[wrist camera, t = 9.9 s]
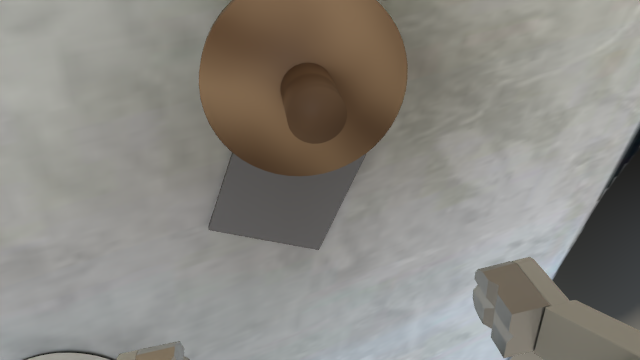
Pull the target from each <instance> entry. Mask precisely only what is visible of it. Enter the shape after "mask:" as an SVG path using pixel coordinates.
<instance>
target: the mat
mask: <svg viewBox="0 0 640 360" xmlns="http://www.w3.org/2000/svg"><path fill="white" fill-rule="evenodd" d="M365 155H366V154H364V155H363V156H361V157H360V158H359V159H357V160H355V161H354V162H352V163H350V164H348V165H346V166H344V167H341V168H339V169H337V170H334V171H330V172H327V173H324V174H318V175H312V176H286V175H279V174H274V173H271V172H267V171H264V170H262V169H259V168H257V167H254V166H252V165H250V164H249V163H247V162H245V161H243V160H242V159H240V158H239V157H238V156H236V155H235V154H234V153H232V155H231V158H230V162H229V165H228V168H227V171H226V174H225V177H224V180H223V183H222V186H221V189H220V193H219V196H218V199H217V202H216V205H215V208H214V211H213V214H212V217H211V221H210V224H209V230H212V231H217V232H223V233H228V234H234V235H239V236H245V237H250V238H256V239H261V240H267V241H272V242H278V243H283V244H289V245H294V246H300V247H305V248H311V249H316V250H319V248H320V246H321V244H322V242H323V240H324V238H325V236H326V234H327V232H328V230H329V228H330V226H331V224H332V222H333V220H334V218H335V216H336V214H337V212H338V210H339V208H340V206H341V204H342V202H343V200H344V198H345V196H346V194H347V192H348V190H349V188H350V186H351V183H352V181H353V179H354V177H355V175H356V173H357V171H358V169H359V167H360V165H361V163H362V161H363V159H364V157H365Z"/></svg>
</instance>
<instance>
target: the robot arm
mask: <svg viewBox="0 0 640 360" xmlns="http://www.w3.org/2000/svg"><path fill="white" fill-rule="evenodd" d="M475 281H476V282H477V284H478V285H477V286H476V288H475V289H474V290H473V302H474V306H475V309H476V312H477V314H478V316H479V318H480V320H481V321H482V323H483V324H485V325H486V326H488V327H490V328H492V333H491V338H492V340H493V341H494V343H495V345H496V346H497V348H498V349H499V351H500V353H501V354H502V356H503V358H507V357H511V356H515V355H520V354H524V353H529V352H533V351H534V353H535V354H536V355H538V356H539V357H541V358H542V359H543V360H640V331H639V330H637V329H635V328H633V327H631V326H629V325H626V324H624V323H622V322H620V321H618V320H616V319H614V318H611V317H610V316H608V315H605V314H603V313H601V312H599V311H597V310H595V309H593V308H590V307H589V306H587V305H584V304H582V303H580V302H578V301H576V300H574V301H569V300H568V298H567V297H566V296H565V295H564V294H563V293H562V291H561V290H560V289H559V288H558V287H557V286H556V284H555V283H554V282H553V281H552V280H551V279H550V277H549V276H548V275H547V274H546V273H545V272H544V270H543V269H542V268H541V267H540V266H539V265H538V264H537V262H536V261H535V260H534V259H532V258H531V257H527V258H523V259H519V260H515V261H509V262H505V263H501V264H497V265H493V266H489V267H485V268H481V269H478V270H477V271H476V272H475ZM27 360H109V359H106V358H103V357H99V356H95V355H89V354H82V353H54V354H46V355H41V356H37V357H33V358H30V359H27ZM116 360H190V359H189V358H187V357H184V347H183V346H182V344H181V342H180V341H178V342H173V343H168V344H163V345H159V346H154V347H149V348H144V349H140V350H135V351H131V352H127V353H122V354H119V356H118V357H117V359H116Z"/></svg>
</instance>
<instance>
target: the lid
mask: <svg viewBox="0 0 640 360" xmlns="http://www.w3.org/2000/svg"><path fill="white" fill-rule="evenodd" d="M406 84H407V58H406V52H405V48H404V44H403V40H402V38H401V35H400V33H399V31H398V28H397V27H396V25H395V23H394V22H393V20H392V18H391V17H390V15H389V14H388V13H387V12H386V10H385V9H384V8H383V7H382V5H380V4H379V3H378V2H377V1H376V0H232V1H231V2H230V3H229V4H228V5H227V6H226V7H225V9H224V10H223V11H222V12H221V13H220V15H219V16H218V18H217V19H216V21H215V22H214V24H213V26H212V28H211V30H210V32H209V34H208V36H207V38H206V42H205V45H204V48H203V52H202V57H201V63H200V70H199V89H200V97H201V102H202V105H203V109H204V112H205V115H206V117H207V119H208V122H209V124H210V125H211V127H212V129H213V130H214V132H215V134H216V135H217V136H218V138H219V139H220V140H221V141H222V143H223V144H224V145H225V146H226V147H227V148H228V149H229V150H230V151H231V152H232V153H234V154H235V155H236V156H238V157H239V158H240V159H242V160H243V161H245V162H247V163H249V164H250V165H252V166H254V167H257V168H259V169H262V170H264V171H267V172H271V173H274V174H279V175H286V176H312V175H318V174H324V173H327V172H330V171H334V170H337V169H339V168H341V167H344V166H346V165H348V164H350V163H352V162H354V161H355V160H357V159H359V158H360V157H361V156H363V155H364V154H366V153H367V152H368V151H369V150H370V149H372V148H373V147H374V146H375V145H376V144H377V143H378V142H379V141H380V140H381V139H382V138H383V136H384V135H385V134H386V132H387V131H388V130H389V128H390V127H391V125H392V124H393V122H394V120H395V118H396V117H397V115H398V112H399V110H400V107H401V105H402V102H403V98H404V95H405V91H406Z"/></svg>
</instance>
